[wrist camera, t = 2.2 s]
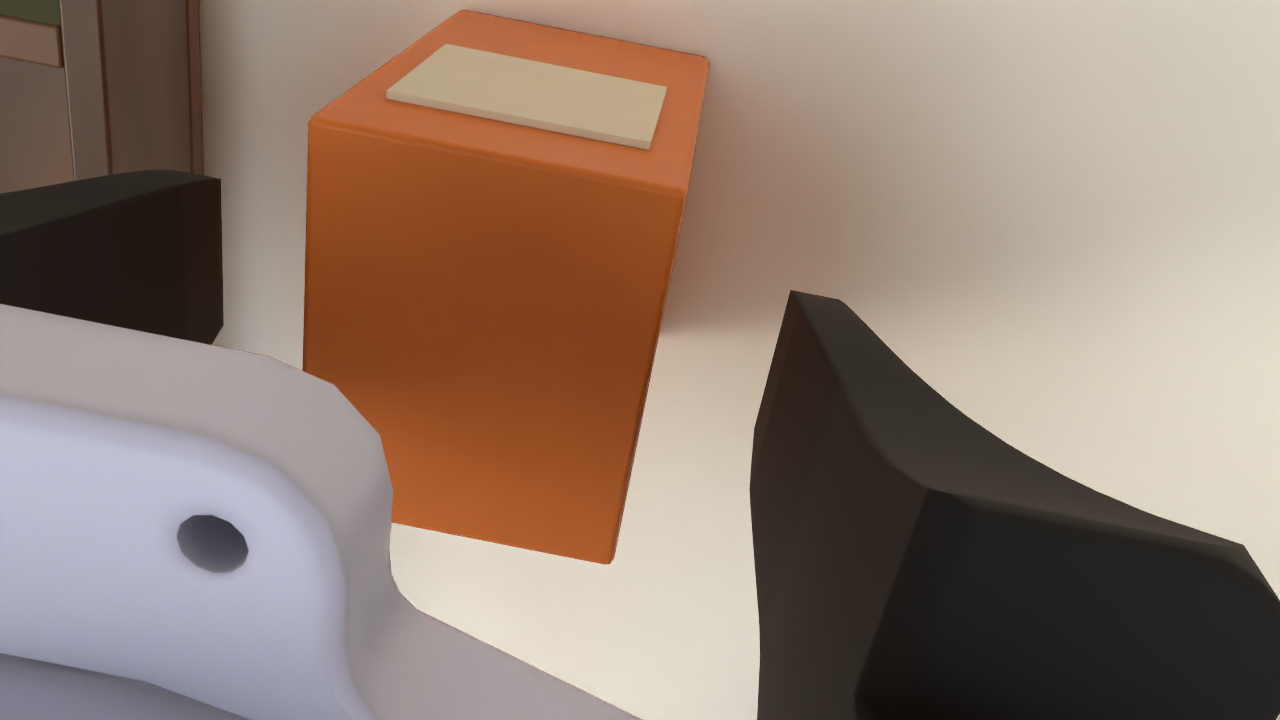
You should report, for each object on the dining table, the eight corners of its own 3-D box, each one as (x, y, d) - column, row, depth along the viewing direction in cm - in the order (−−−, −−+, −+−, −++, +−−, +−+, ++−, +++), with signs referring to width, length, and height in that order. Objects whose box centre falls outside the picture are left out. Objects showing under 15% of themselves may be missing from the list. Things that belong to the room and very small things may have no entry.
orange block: (712, 50, 17) (689, 181, 11) (655, 337, 19) (612, 569, 13) (459, 1, 17) (305, 106, 11) (434, 294, 19) (297, 506, 13)
